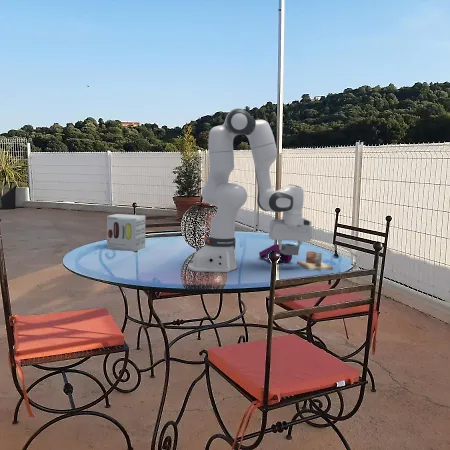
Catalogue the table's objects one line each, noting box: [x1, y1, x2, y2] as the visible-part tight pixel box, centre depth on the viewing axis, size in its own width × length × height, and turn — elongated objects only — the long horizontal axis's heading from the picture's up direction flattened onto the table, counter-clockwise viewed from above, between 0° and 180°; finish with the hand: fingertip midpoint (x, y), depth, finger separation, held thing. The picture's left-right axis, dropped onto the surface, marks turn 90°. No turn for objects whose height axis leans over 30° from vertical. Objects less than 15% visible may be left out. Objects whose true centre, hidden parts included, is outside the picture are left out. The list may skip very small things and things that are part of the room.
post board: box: [296, 250, 334, 271], centre depth 218 cm, size 12×14×7 cm
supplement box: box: [106, 213, 146, 252], centre depth 249 cm, size 17×13×18 cm
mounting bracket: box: [258, 243, 293, 264], centre depth 229 cm, size 9×8×18 cm
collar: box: [280, 243, 300, 256], centre depth 211 cm, size 6×6×4 cm
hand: (289, 249), depth 211 cm, fingers closed on collar, 6 cm apart
